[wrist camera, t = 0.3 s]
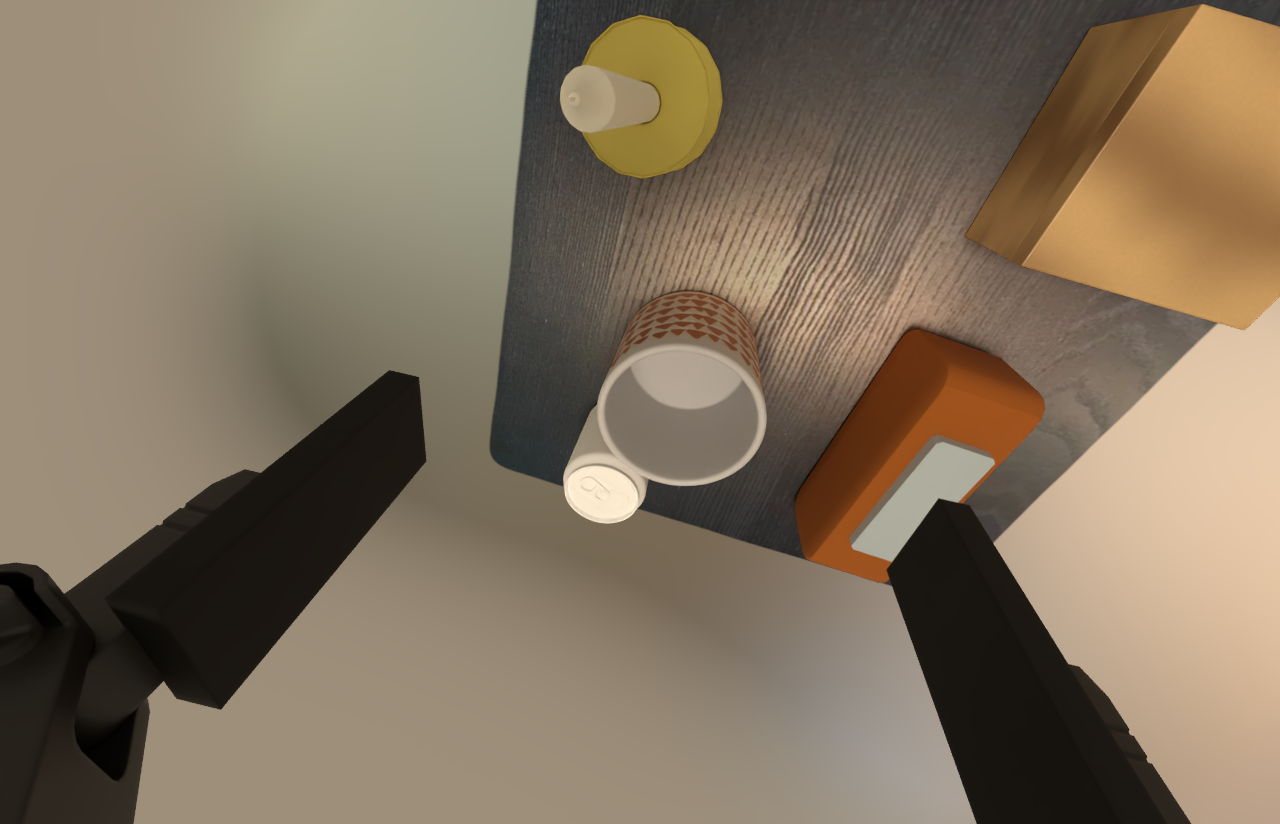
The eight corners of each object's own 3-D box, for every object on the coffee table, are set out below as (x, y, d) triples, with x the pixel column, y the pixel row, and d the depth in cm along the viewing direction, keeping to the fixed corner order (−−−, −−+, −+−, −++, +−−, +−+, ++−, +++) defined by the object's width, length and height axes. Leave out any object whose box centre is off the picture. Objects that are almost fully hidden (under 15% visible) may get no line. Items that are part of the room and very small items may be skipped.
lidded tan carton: (1090, 27, 32) (1202, 3, 25) (1315, 93, 32) (1494, 89, 25) (964, 236, 40) (1021, 266, 32) (1146, 289, 40) (1245, 330, 33)
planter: (597, 329, 49) (563, 390, 39) (718, 262, 44) (717, 312, 33) (663, 428, 55) (650, 506, 44) (778, 380, 49) (794, 455, 39)
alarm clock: (856, 520, 58) (883, 602, 48) (791, 499, 57) (805, 577, 48) (993, 349, 45) (1068, 415, 35) (910, 320, 44) (962, 379, 35)
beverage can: (627, 464, 58) (608, 539, 48) (574, 424, 56) (542, 493, 46) (672, 425, 54) (661, 498, 44) (617, 381, 52) (593, 446, 42)
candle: (749, 102, 37) (794, 93, 15) (658, 200, 42) (586, 309, 19) (659, -14, 34) (541, -247, 12) (572, 105, 39) (368, 103, 16)
